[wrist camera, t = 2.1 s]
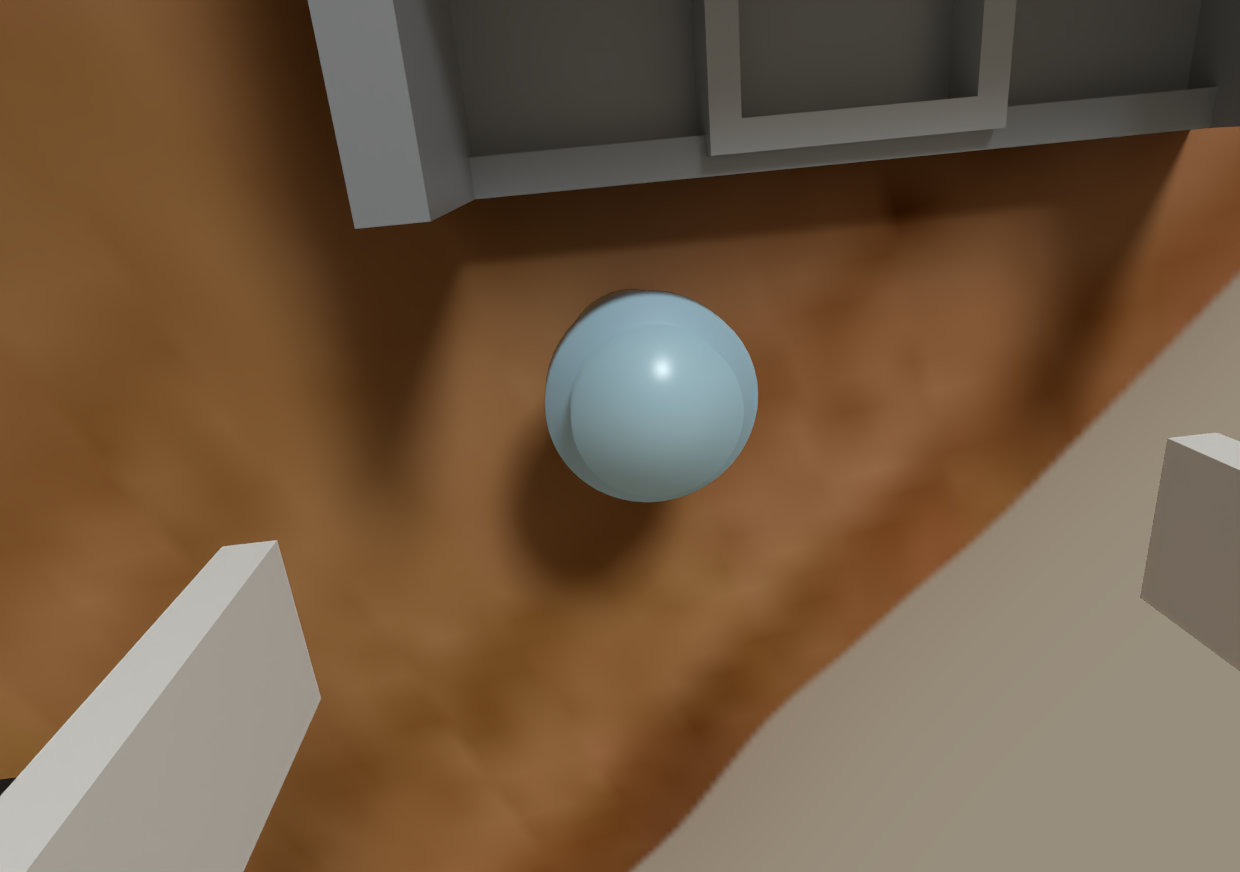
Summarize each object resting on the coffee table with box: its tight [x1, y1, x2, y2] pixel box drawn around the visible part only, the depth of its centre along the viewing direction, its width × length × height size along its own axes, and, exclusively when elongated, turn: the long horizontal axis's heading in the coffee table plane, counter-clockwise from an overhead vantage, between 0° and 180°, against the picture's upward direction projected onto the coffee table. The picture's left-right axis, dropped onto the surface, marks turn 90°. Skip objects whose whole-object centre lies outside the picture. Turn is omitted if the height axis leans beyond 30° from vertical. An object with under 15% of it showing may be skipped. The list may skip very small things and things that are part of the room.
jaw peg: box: [545, 289, 758, 502], centre depth 20 cm, size 5×5×6 cm
